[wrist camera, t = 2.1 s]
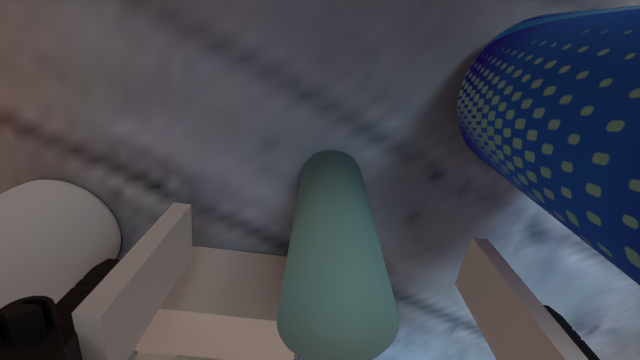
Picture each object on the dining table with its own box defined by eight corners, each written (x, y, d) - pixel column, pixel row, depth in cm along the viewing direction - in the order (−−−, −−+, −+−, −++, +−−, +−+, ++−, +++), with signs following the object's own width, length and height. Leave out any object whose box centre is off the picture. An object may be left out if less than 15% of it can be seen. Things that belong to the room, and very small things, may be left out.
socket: (140, 239, 24) (85, 300, 18) (305, 258, 24) (299, 323, 19) (153, 361, 29) (112, 437, 24) (289, 375, 29) (280, 453, 24)
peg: (304, 146, 21) (281, 268, 10) (366, 154, 21) (412, 283, 10) (297, 201, 23) (272, 360, 12) (355, 209, 23) (385, 372, 12)
